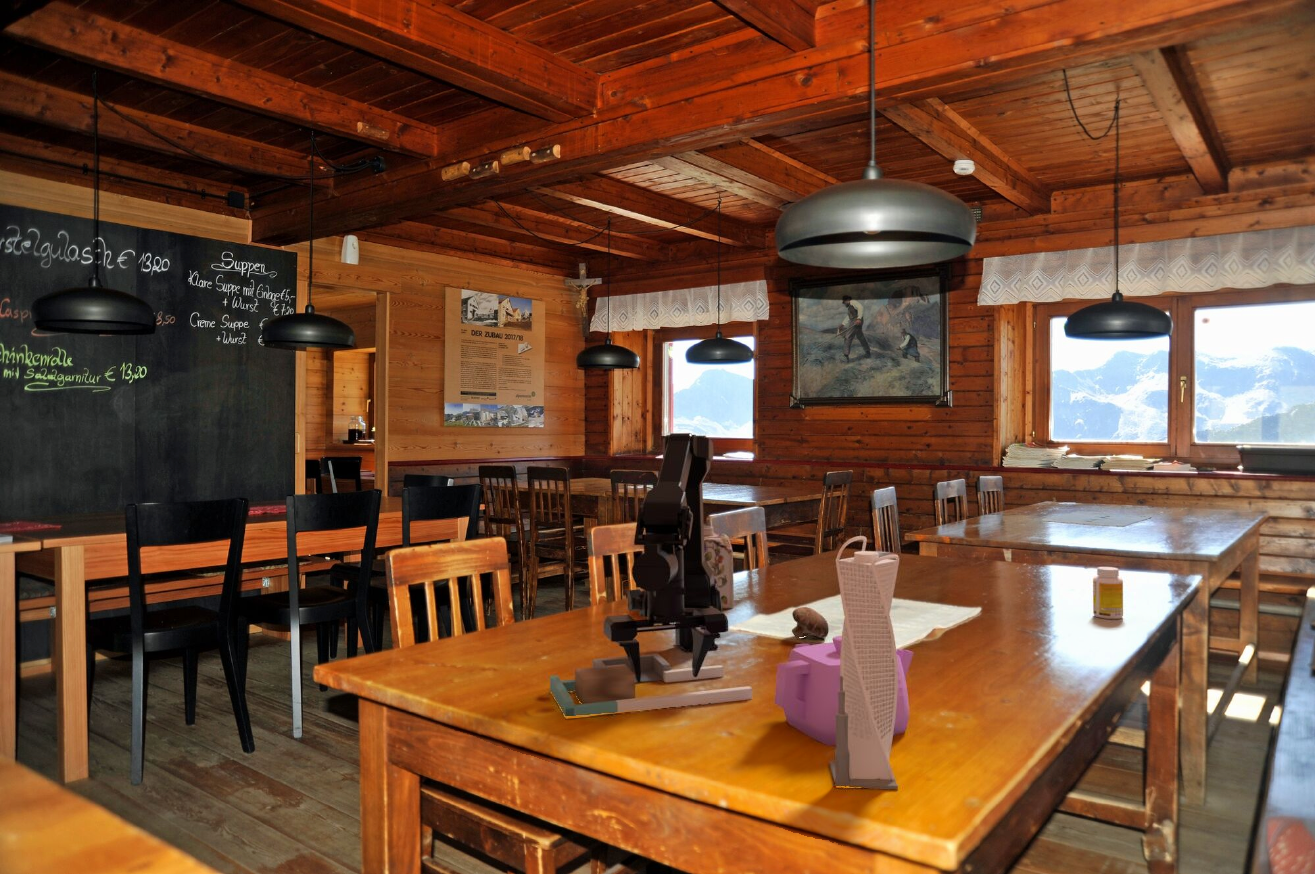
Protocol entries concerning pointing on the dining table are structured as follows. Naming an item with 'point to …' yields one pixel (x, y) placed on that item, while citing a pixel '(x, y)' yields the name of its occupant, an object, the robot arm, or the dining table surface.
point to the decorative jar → (720, 564)
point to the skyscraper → (866, 671)
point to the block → (604, 684)
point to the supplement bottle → (1108, 593)
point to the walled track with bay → (650, 671)
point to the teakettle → (825, 689)
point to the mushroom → (809, 623)
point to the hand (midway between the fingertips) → (666, 679)
